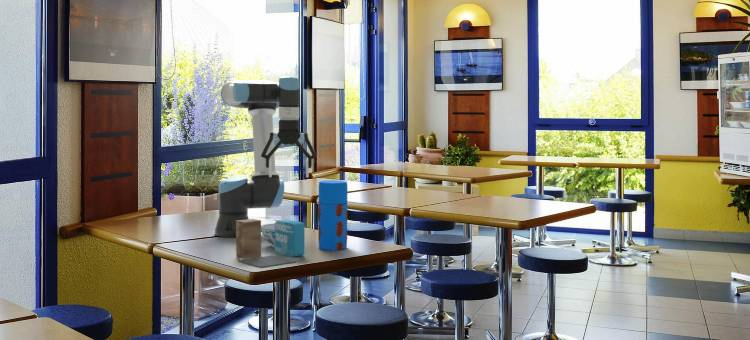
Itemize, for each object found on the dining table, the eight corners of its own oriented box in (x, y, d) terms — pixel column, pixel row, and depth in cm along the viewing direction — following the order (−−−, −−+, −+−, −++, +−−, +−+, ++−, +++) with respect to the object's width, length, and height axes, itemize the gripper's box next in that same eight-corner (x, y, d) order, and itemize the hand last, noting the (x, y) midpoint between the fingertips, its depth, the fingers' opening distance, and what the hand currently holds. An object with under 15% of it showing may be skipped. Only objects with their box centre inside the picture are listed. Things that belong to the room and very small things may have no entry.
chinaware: (263, 250, 282) (263, 229, 281) (258, 243, 296) (258, 223, 295) (303, 249, 286) (303, 228, 285) (296, 242, 300) (296, 222, 299)
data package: (274, 252, 278) (274, 220, 277) (284, 251, 281) (284, 218, 280) (294, 257, 269) (294, 223, 268) (304, 256, 272) (304, 222, 271)
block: (236, 257, 268) (236, 220, 267) (253, 255, 273) (253, 218, 272) (244, 259, 265) (243, 222, 264) (261, 257, 269) (261, 220, 268)
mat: (237, 261, 261) (237, 260, 261) (271, 256, 271) (271, 255, 271) (261, 267, 251) (261, 266, 251) (295, 262, 260) (295, 261, 260)
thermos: (314, 246, 291) (314, 180, 289) (341, 244, 295) (341, 180, 293) (324, 251, 281) (324, 183, 279) (351, 249, 285) (351, 182, 283)
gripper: (253, 119, 277) (253, 177, 279) (322, 119, 277) (322, 178, 279) (256, 118, 284) (256, 175, 286) (323, 119, 285) (323, 176, 286)
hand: (288, 177), depth 283 cm, fingers open, 13 cm apart
